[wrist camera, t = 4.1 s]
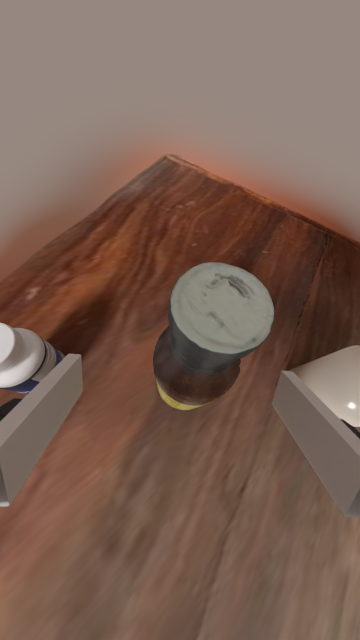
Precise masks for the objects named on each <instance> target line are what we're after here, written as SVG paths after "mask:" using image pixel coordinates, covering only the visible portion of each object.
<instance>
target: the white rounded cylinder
mask: <svg viewBox="0 0 360 640" xmlns="http://www.w3.org/2000/svg"><path fill="white" fill-rule="evenodd" d="M289 371H293V372H294V373H295V374H296V375H297V376H298V377H299V378H300V379H301V380H302V381H303V382H304V383H305V385H306V386H307V387H308V388H309V389H310V390H311V391H312V392H313V393H314V394H315V395H316V396H317V397H318V398H319V399H320V400H321V401H322V402H323V403H324V404H325V405H326V406H327V407H328V408H329V409H330V410H331V411H332V412H333V413H334V414H335V415H336V416H337V417H338V418H339V419H343V420H344V421H346V422H347V423H349V424H350V425H352V426H353V427H360V346H350V347H347V348H344V349H342V350H339V351H336V352H334V353H331V354H329V355H326V356H324V357H321V358H318V359H316V360H313V361H311V362H308V363H306V364H303V365H300V366H298V367H295V368H293V369H291V370H289Z"/></svg>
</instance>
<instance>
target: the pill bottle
mask: <svg viewBox="0 0 360 640" xmlns="http://www.w3.org/2000/svg"><path fill="white" fill-rule="evenodd" d="M64 358H65V355H64V354H63V353H62V352H60V351H59V350H57V349H56V348H55V347H53V346H52V345H51V344H49V343H48V342H47V341H45V340H44V339H42V338H41V337H40V336H38V335H37V334H35V333H34V332H32V331H30V330H27V329H23V328H11V327H10V326H8V325H6V324H3V323H0V388H1V389H6V390H11V391H16V392H20V393H25V394H29V393H30V392H31V391H32V390H33V389H34V388H35V387H36V386H37V385H38V384H39V383H40V382H41V381H42V380H43V379H44V378H45V377H46V376H47V375H48V374H49V373H50V372H51V371H52V370H53V369H54V368H55V367H56V366H57V365H58V364H59V363H60V362H61V361H62V360H63V359H64Z"/></svg>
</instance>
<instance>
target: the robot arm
mask: <svg viewBox="0 0 360 640" xmlns="http://www.w3.org/2000/svg"><path fill="white" fill-rule="evenodd" d="M82 392H83V384H82V360H81V355H80V354H68V355H67V356H66V357H65V358H64V359H63V360H62V361H61V362H60V363H59V364H58V365H57V366H56V367H55V368H54V369H53V370H52V371H51V372H50V373H49V374H48V375H47V376H46V377H45V378H44V379H43V380H42V381H41V382H40V383H39V384H38V385H37V386H36V387H35V388H34V389H33V390H32V391H31V392H30V393H29V394H28V395H27V396H26V397H25V398H24V399H15V398H14V399H13V400H11V401H9V402H7V403H6V404H4V405H2V406H1V407H0V506H10V505H11V503H12V502H13V500H14V499H15V497H16V495H17V494H18V492H19V491H20V489H21V488H22V486H23V484H24V483H25V481H26V480H27V478H28V477H29V475H30V473H31V472H32V470H33V469H34V467H35V466H36V464H37V462H38V461H39V459H40V458H41V456H42V455H43V453H44V451H45V450H46V448H47V447H48V445H49V444H50V442H51V440H52V439H53V437H54V436H55V434H56V433H57V431H58V429H59V428H60V426H61V425H62V423H63V422H64V420H65V418H66V417H67V415H68V414H69V412H70V411H71V409H72V407H73V406H74V404H75V403H76V401H77V400H78V398H79V397H80V395H81V393H82ZM272 406H273V407H274V409H275V410H276V412H277V413H278V415H279V417H280V418H281V420H282V421H283V423H284V424H285V426H286V427H287V429H288V431H289V432H290V434H291V435H292V437H293V438H294V440H295V441H296V443H297V444H298V446H299V448H300V449H301V451H302V452H303V454H304V455H305V457H306V458H307V460H308V462H309V463H310V465H311V466H312V468H313V469H314V471H315V472H316V474H317V475H318V477H319V479H320V480H321V482H322V483H323V485H324V486H325V488H326V489H327V491H328V493H329V494H330V496H331V497H332V499H333V500H334V502H335V503H336V505H337V506H338V508H339V510H340V511H341V513H342V514H343V516H344V517H360V433H359V432H358V431H357V430H356V429H355V428H354V427H353V426H352V425H350V424H349V423H347V422H346V421H344V420H343V419H339V418H338V417H337V416H336V415H335V414H334V413H333V412H332V411H331V410H330V409H329V408H328V407H327V406H326V405H325V404H324V403H323V402H322V401H321V400H320V399H319V398H318V397H317V396H316V395H315V394H314V393H313V392H312V391H311V390H310V389H309V388H308V387H307V386H306V385H305V383H304V382H303V381H302V380H301V379H300V378H299V377H298V376H297V375H296V374H295V373H294V372H293V371H281V374H280V378H279V381H278V384H277V388H276V391H275V394H274V398H273V401H272Z"/></svg>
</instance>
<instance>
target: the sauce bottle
mask: <svg viewBox="0 0 360 640" xmlns="http://www.w3.org/2000/svg"><path fill="white" fill-rule="evenodd" d="M168 318H169V324H170V326H169V327H167V328H166V329H165V330H164V331H163V333H162V334H161V336H160V337H159V339H158V341H157V344H156V346H155V350H154V357H153V366H154V374H155V378H156V382H157V386H158V390H159V393H160V395H161V397H162V399H163V400H164V401H165V402H166V403H167V404H169V405H170V406H172V407H174V408H176V409H180V410H190V409H193V408H197V407H200V406H202V405H205V404H208V403H210V402H212V401H214V400H216V399H217V398H219V397H220V396H221V395H223V394H224V393H225V392H227V391H228V390H229V389H230V388H231V387H232V385H233V384H234V382H235V381H236V379H237V377H238V375H239V372H240V367H239V365H240V362H241V361H240V358H242V357H244V356H246V355H248V354H249V353H250V352H252V351H253V350H255V349H256V348H257V347H258V346H259V345H260V344H262V343H263V341H264V340H265V339H266V338H267V336H268V335H269V333H270V331H271V327H272V325H273V318H274V306H273V302H272V300H271V297H270V295H269V292H268V290H267V289H266V288H265V286H264V285H263V284H262V283H261V281H259V280H258V279H257V278H256V277H255V276H254V275H252V274H251V273H249V272H247V271H245V270H243V269H241V268H239V267H236V266H232V265H228V264H224V263H213V262H209V263H204V264H200V265H197V266H195V267H193V268H191V269H190V270H188V271H187V272H185V273H184V274H183V275H182V276H181V277H179V278H178V280H177V282H176V283H175V285H174V287H173V290H172V293H171V296H170V304H169V313H168Z"/></svg>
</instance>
